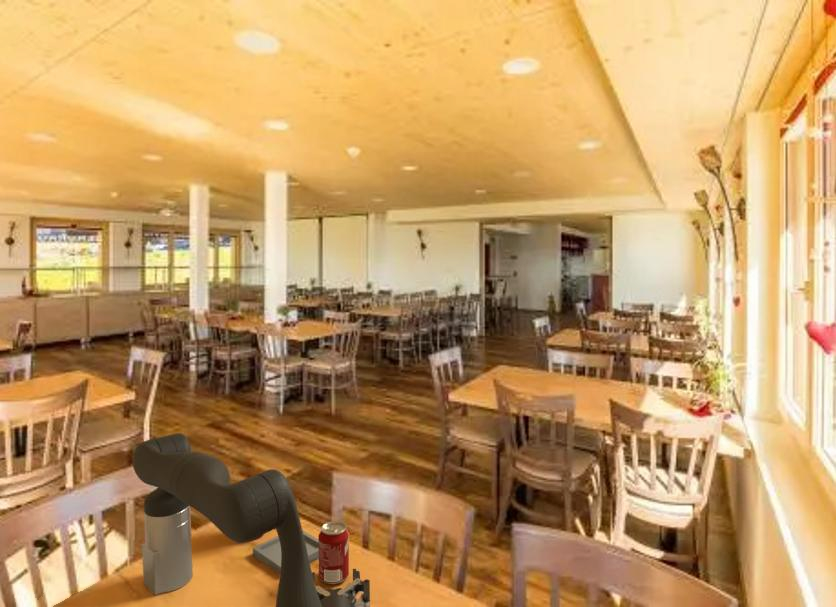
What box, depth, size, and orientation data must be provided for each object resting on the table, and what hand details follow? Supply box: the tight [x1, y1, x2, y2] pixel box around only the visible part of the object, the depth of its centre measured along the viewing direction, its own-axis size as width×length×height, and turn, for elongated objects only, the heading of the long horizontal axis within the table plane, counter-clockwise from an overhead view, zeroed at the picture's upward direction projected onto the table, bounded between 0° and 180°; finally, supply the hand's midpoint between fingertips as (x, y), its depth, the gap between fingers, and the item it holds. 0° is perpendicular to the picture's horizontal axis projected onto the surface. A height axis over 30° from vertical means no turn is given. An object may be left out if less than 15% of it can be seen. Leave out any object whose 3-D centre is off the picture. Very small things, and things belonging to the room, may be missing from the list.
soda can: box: [317, 520, 350, 585], centre depth 117 cm, size 7×7×12 cm
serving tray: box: [252, 529, 319, 575], centre depth 127 cm, size 13×13×2 cm
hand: (333, 574), depth 108 cm, fingers open, 8 cm apart
